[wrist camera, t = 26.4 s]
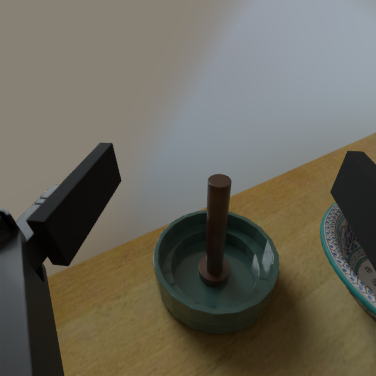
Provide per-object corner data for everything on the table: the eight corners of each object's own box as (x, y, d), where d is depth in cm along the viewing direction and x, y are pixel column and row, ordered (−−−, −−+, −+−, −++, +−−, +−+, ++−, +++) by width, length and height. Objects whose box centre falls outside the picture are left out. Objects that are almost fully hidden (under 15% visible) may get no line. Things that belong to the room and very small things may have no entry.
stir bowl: (134, 292, 35) (127, 268, 32) (194, 221, 47) (194, 198, 43) (245, 367, 27) (252, 347, 24) (284, 259, 39) (292, 235, 35)
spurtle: (192, 277, 36) (189, 184, 26) (207, 255, 39) (210, 165, 29) (220, 292, 34) (230, 199, 23) (234, 268, 37) (248, 176, 27)
